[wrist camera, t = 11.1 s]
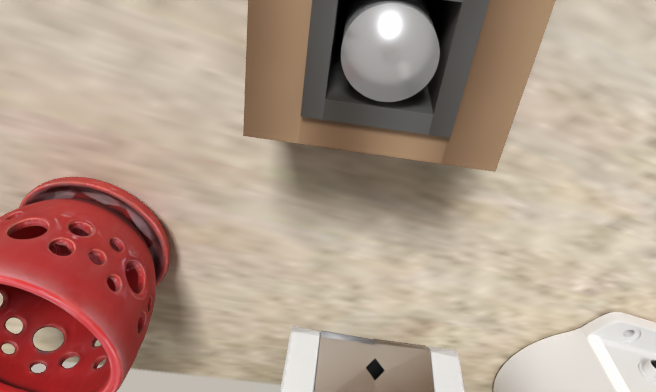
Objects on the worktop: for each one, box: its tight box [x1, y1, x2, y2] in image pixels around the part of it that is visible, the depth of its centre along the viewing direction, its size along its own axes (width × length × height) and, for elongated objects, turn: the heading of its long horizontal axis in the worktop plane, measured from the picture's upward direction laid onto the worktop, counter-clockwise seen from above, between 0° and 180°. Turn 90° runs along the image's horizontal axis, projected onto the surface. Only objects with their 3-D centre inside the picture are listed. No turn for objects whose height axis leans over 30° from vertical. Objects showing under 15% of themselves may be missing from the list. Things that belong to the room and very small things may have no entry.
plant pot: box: [0, 177, 170, 392], centre depth 37 cm, size 13×13×12 cm
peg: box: [341, 0, 440, 102], centre depth 26 cm, size 4×4×10 cm
